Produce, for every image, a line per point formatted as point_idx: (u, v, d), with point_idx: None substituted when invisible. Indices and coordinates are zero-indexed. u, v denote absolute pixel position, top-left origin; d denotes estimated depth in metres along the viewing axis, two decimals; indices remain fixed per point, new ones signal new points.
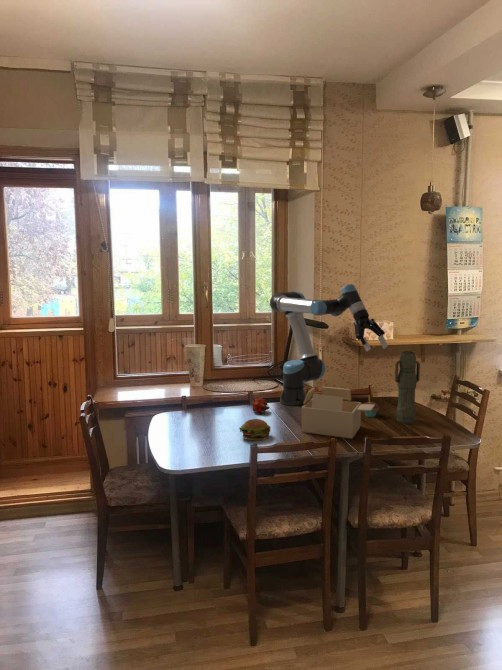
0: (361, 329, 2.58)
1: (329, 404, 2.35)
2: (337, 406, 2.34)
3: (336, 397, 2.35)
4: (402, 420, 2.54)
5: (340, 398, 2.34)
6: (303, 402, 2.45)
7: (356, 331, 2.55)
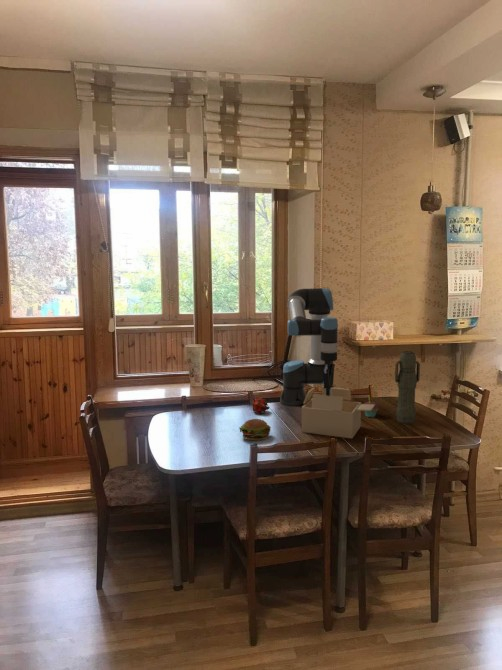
0: None
1: (329, 404, 2.35)
2: (337, 406, 2.34)
3: (336, 397, 2.35)
4: (402, 420, 2.54)
5: (340, 398, 2.34)
6: (303, 402, 2.45)
7: (325, 381, 2.33)
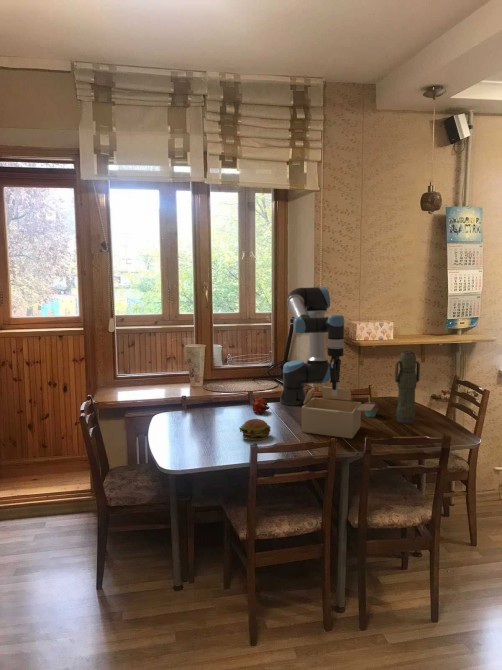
0: None
1: None
2: None
3: None
4: (402, 420, 2.54)
5: (336, 412, 2.28)
6: (303, 402, 2.45)
7: (332, 375, 2.44)
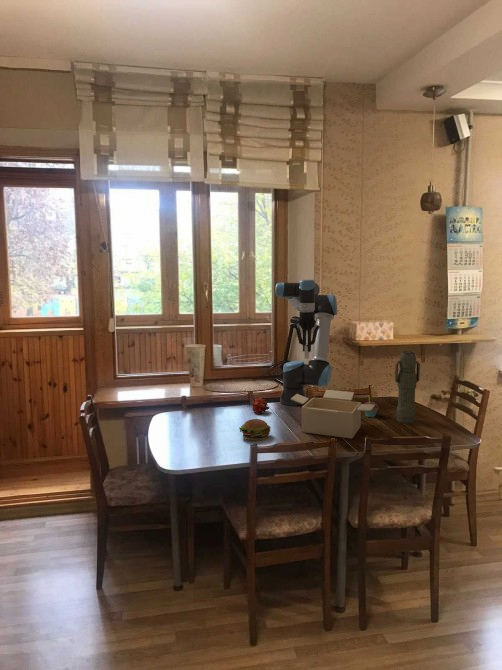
0: None
1: None
2: None
3: None
4: (402, 420, 2.54)
5: (336, 412, 2.28)
6: None
7: None
